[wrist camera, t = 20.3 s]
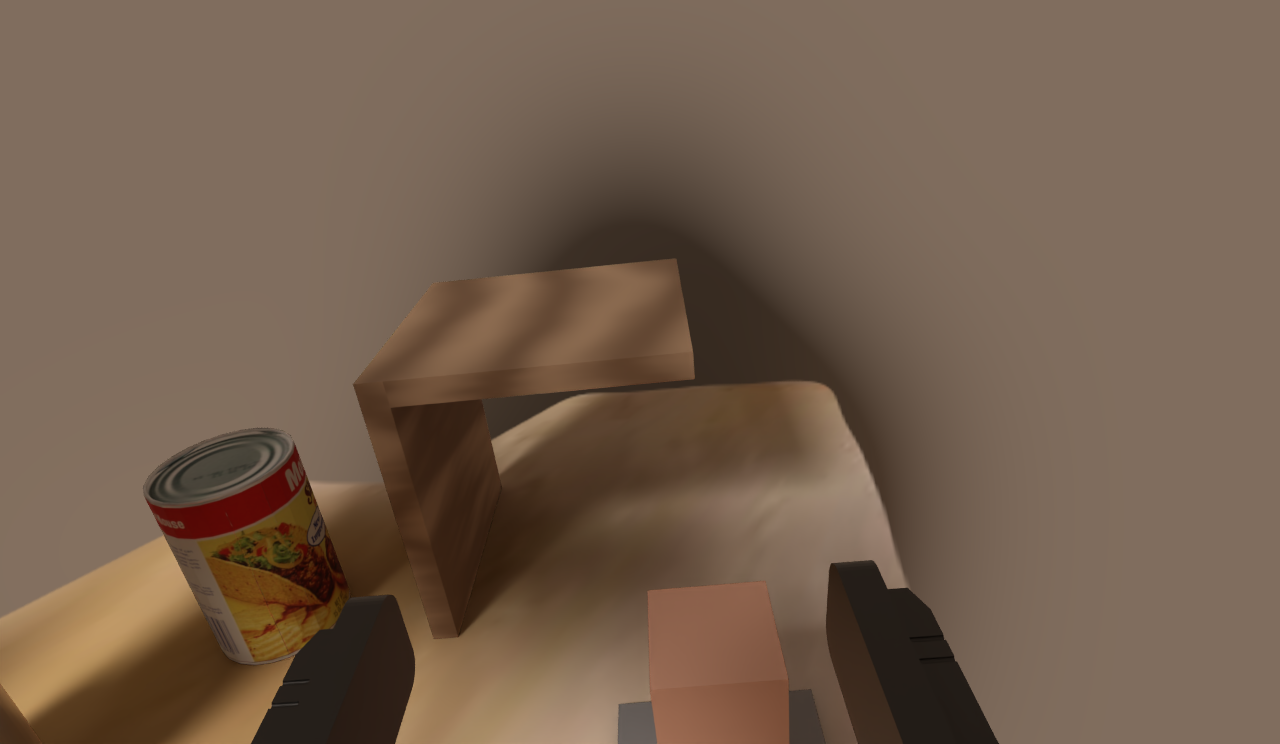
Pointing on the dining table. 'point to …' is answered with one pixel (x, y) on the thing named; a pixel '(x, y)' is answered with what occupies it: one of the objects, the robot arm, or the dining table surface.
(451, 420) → the shelf nook
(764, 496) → the dining table surface
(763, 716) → the terracotta block
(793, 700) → the slate mat
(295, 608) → the canned food
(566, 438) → the dining table surface
